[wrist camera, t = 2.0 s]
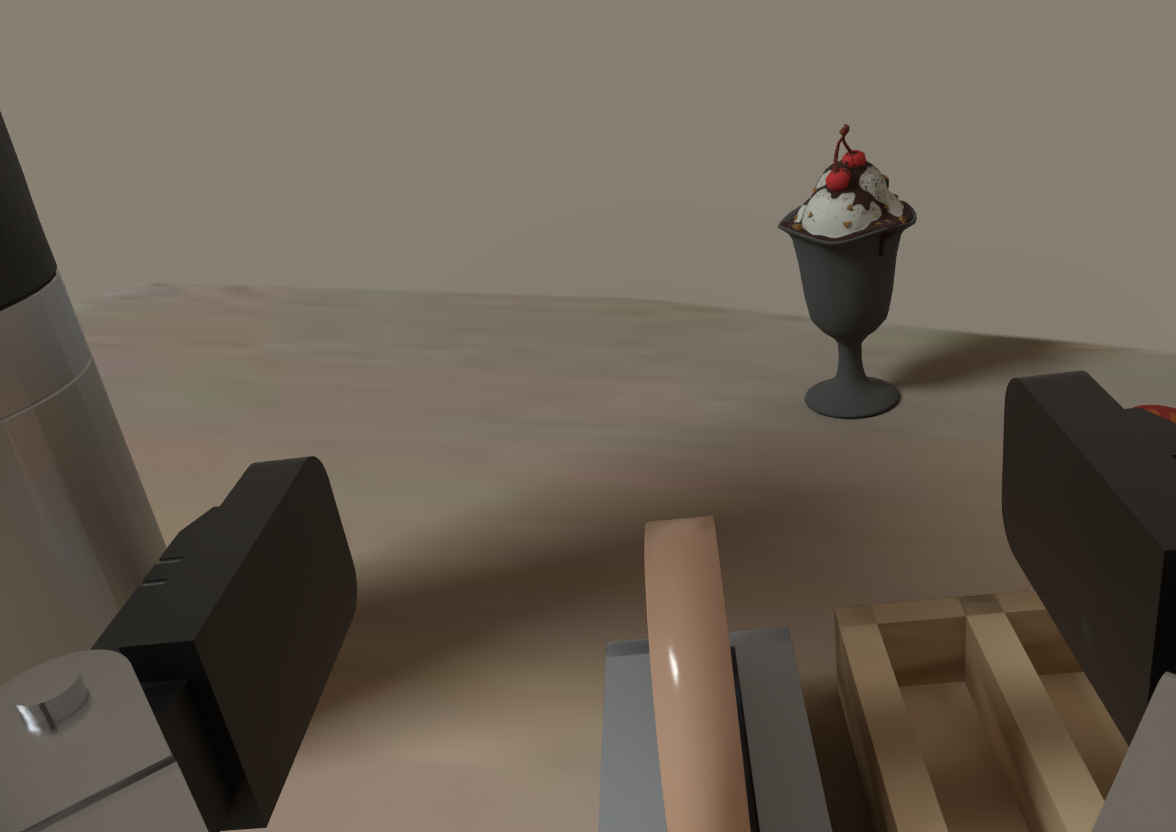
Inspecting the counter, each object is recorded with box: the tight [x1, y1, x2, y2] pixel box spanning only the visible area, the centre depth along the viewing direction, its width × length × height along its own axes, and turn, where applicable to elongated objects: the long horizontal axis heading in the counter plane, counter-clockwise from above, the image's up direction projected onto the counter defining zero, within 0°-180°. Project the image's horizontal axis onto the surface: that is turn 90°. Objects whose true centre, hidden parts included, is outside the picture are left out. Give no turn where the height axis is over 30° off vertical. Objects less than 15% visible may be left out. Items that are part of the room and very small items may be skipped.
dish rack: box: [834, 590, 1129, 832], centre depth 28 cm, size 13×13×4 cm
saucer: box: [644, 515, 751, 832], centre depth 27 cm, size 10×2×10 cm, turn 178°
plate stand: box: [599, 627, 832, 832], centre depth 29 cm, size 12×6×4 cm, turn 178°
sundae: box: [778, 124, 917, 418], centre depth 52 cm, size 7×7×15 cm
